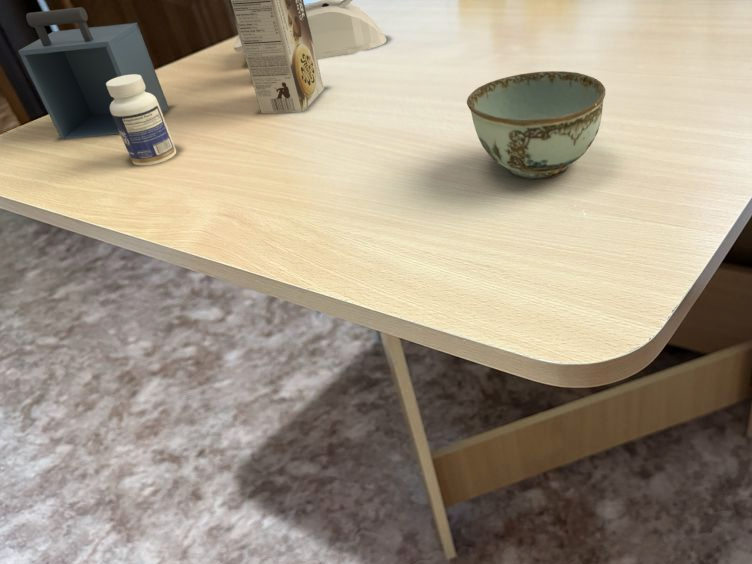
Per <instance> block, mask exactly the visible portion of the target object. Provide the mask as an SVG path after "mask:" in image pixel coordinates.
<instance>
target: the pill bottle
mask: <svg viewBox="0 0 752 564" xmlns="http://www.w3.org/2000/svg"><path fill="white" fill-rule="evenodd" d="M106 86H107V88H108V91H109V94H110V95H111V97H114V100H113V101H112V102H111V104H110V111H111V114H112V116H113V119H114V121H115V123H116V126H117V128H118V130H119V133H120V134H119V135H120V137H121V139H122V142H123V144H124V147H125V149H126V150H127V153H128V156H129V158H130V159H131V162H132V164H134V165H135V166H151V165H156V164H160V163H163V162H165V161H168V160H169V159H171V158H173V157H174V156H175V155H176V154H177V148H176V145H175V143H174V141H173V138H172V136H171V133H170V129H169V128H168V124H167V122H166V119H165V118H164V114H162V112H161V109H160V107H159V104H158V101H157V99H156V97H155V96H154V95H152V94H151V93H147V92H145V89H146V87H145V84H144V82H143V79H142V77H141V75H137V74H132V75H124V76H120V77H117V78H114V79H111V80H109V81H108V82H107V83H106Z"/></svg>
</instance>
